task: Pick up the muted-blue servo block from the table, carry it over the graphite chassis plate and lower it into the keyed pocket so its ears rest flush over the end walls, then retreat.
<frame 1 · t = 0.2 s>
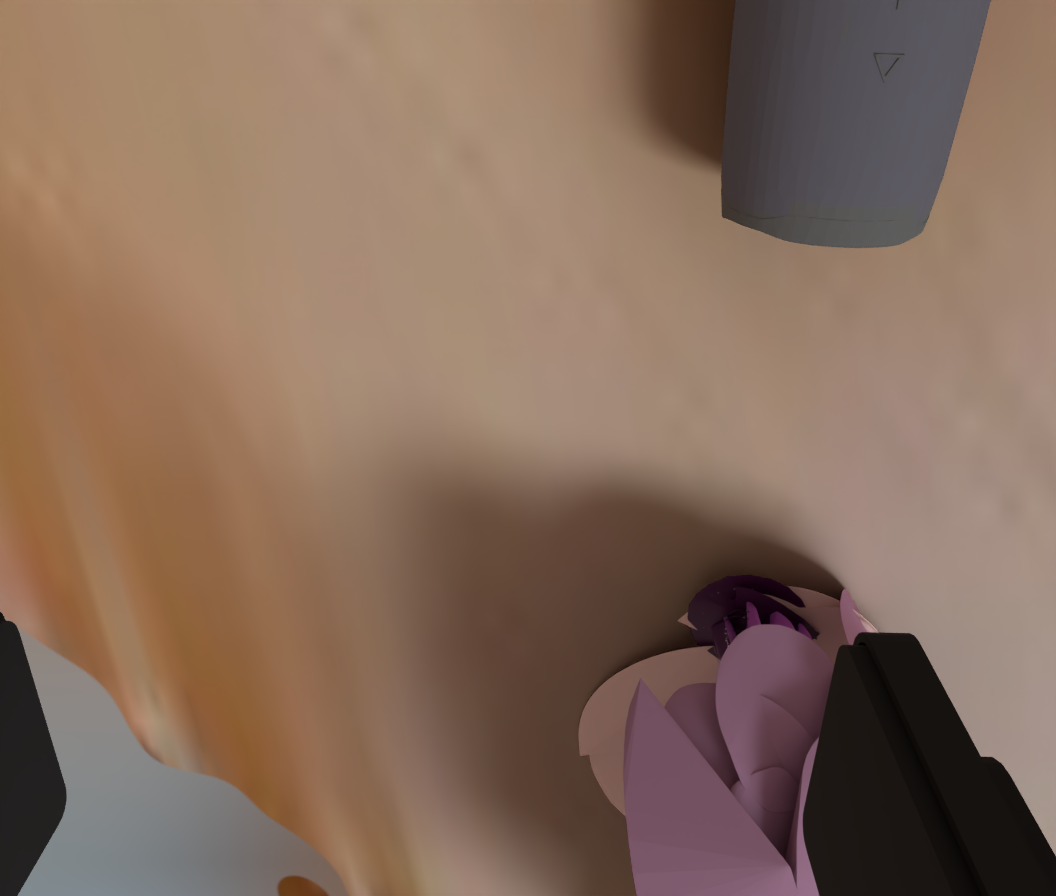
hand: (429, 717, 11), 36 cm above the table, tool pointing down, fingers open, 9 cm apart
flower arrangement: (736, 738, 60), on the table
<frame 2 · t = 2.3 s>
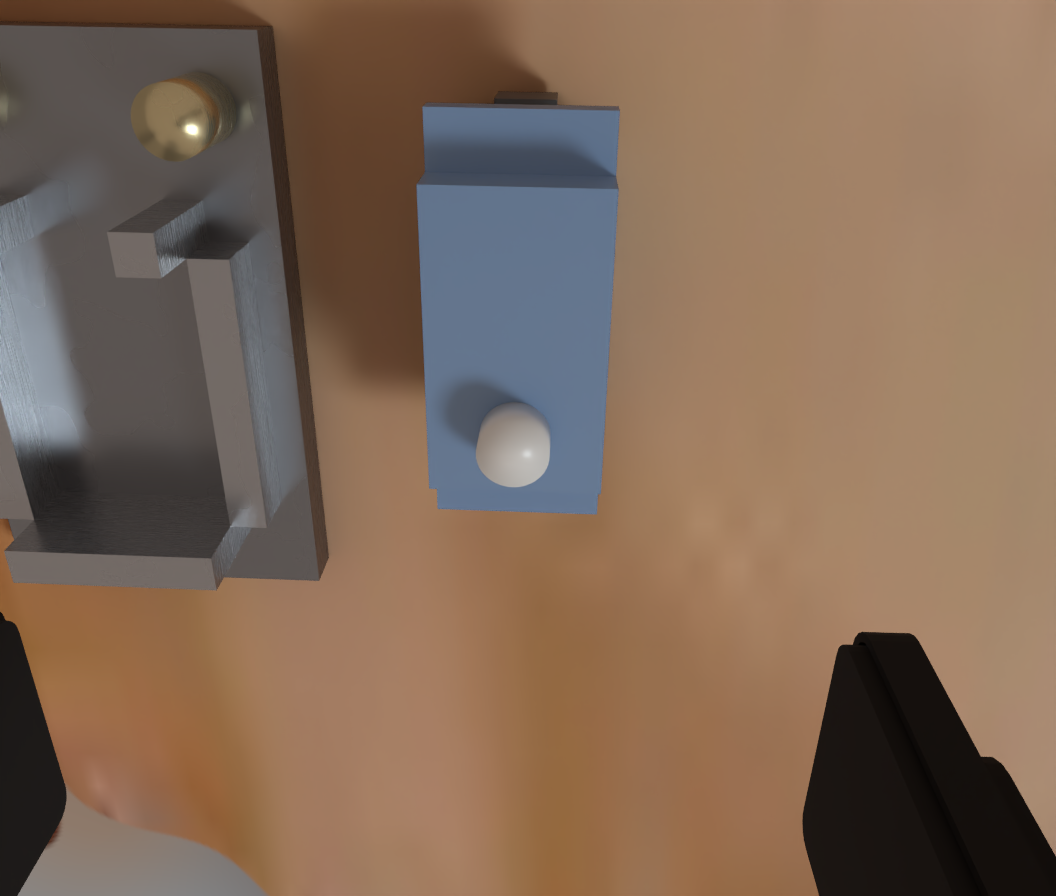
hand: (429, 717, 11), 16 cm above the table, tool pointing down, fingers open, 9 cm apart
chassis: (141, 324, 25), on the table
servo: (526, 279, 24), on the table
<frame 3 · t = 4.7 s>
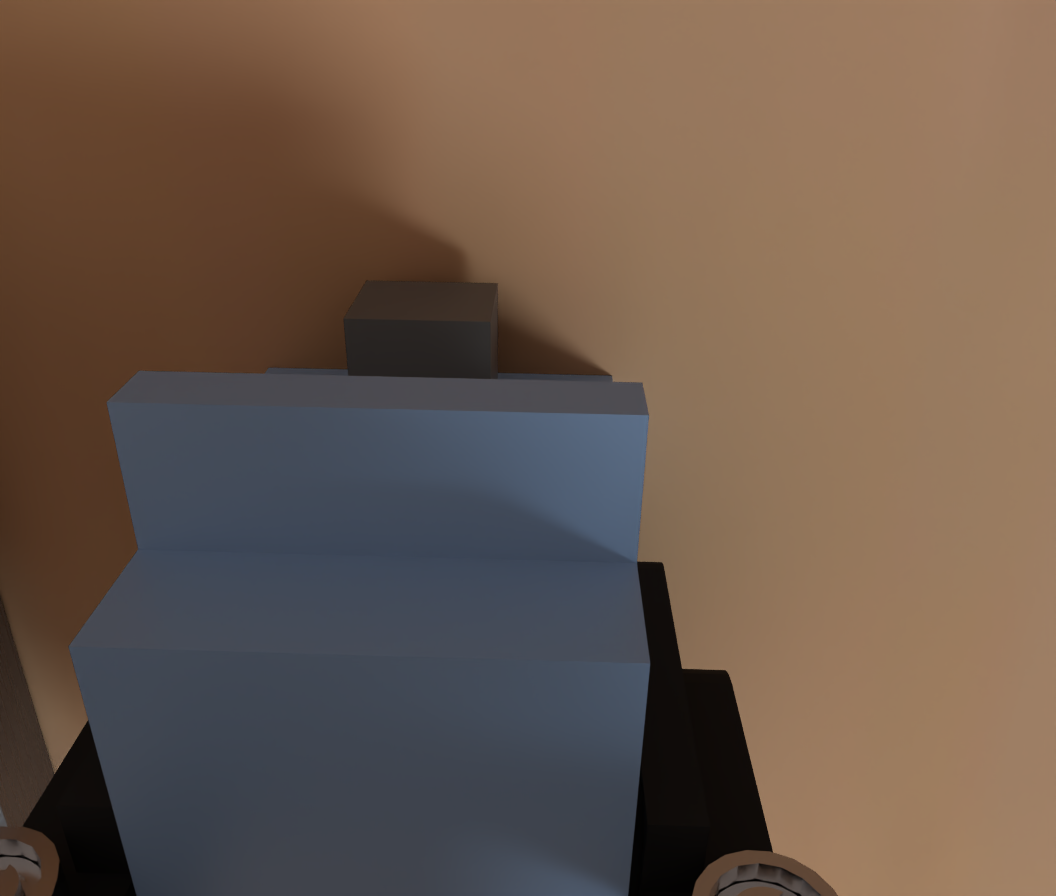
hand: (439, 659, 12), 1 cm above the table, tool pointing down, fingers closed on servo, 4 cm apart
servo: (447, 613, 12), on the table, touching gripper
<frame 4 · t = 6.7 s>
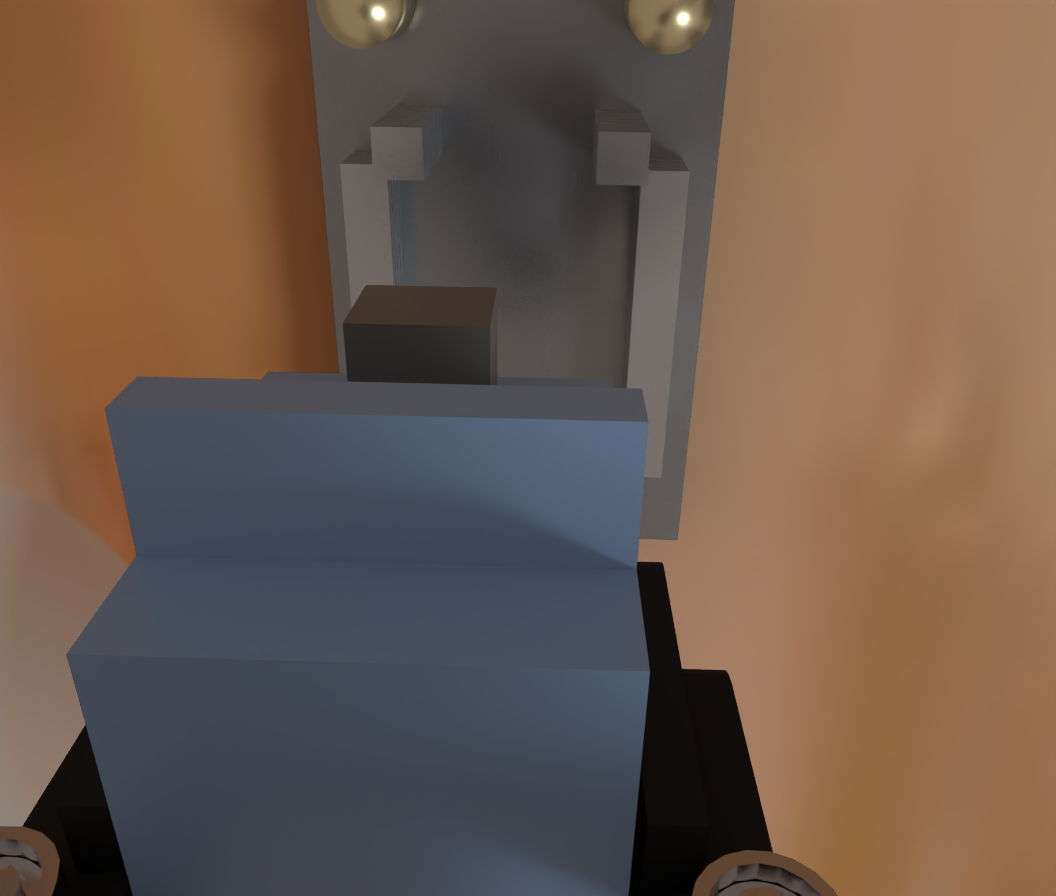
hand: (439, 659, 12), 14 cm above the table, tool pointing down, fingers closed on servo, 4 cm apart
chassis: (519, 256, 23), on the table
servo: (447, 617, 12), point 13 cm above the table, touching gripper
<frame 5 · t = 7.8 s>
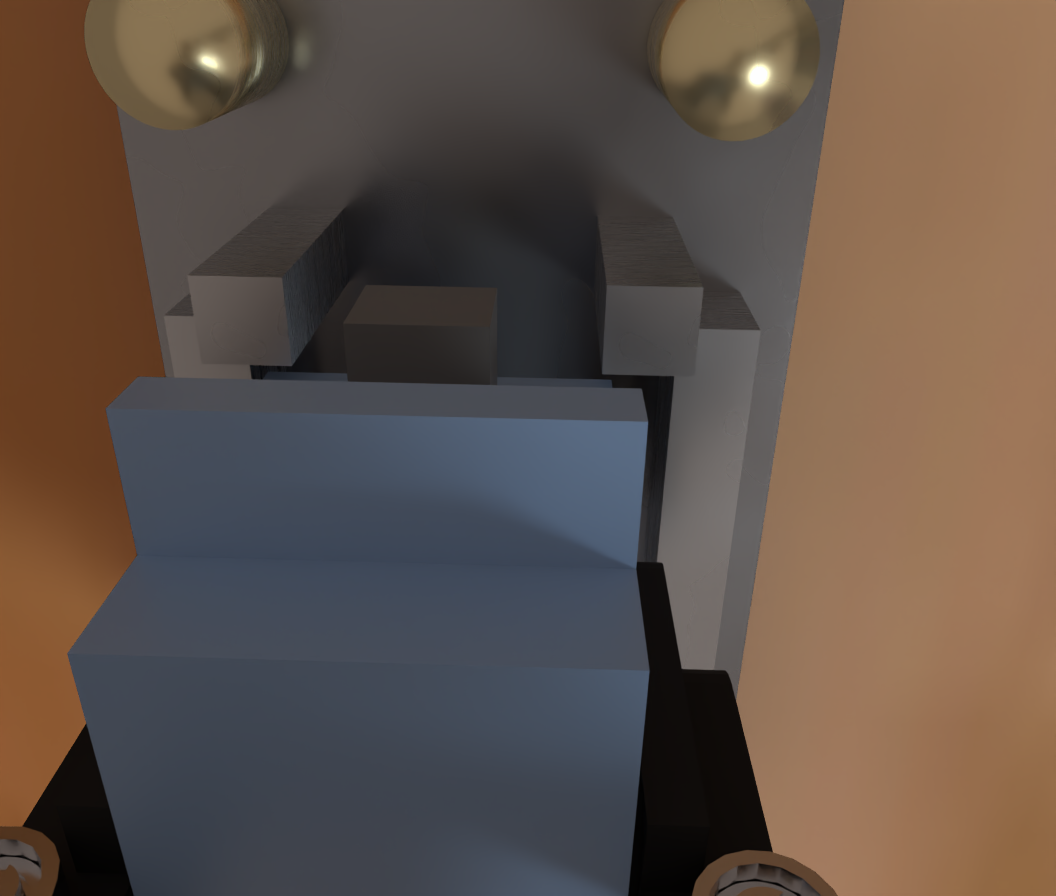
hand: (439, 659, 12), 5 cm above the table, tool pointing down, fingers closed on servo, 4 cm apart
chassis: (479, 423, 15), on the table
servo: (447, 617, 12), point 4 cm above the table, touching gripper
when the fingers open (3 cm above the table, at t = 8.7 s): servo drops 1 cm, resting on chassis.
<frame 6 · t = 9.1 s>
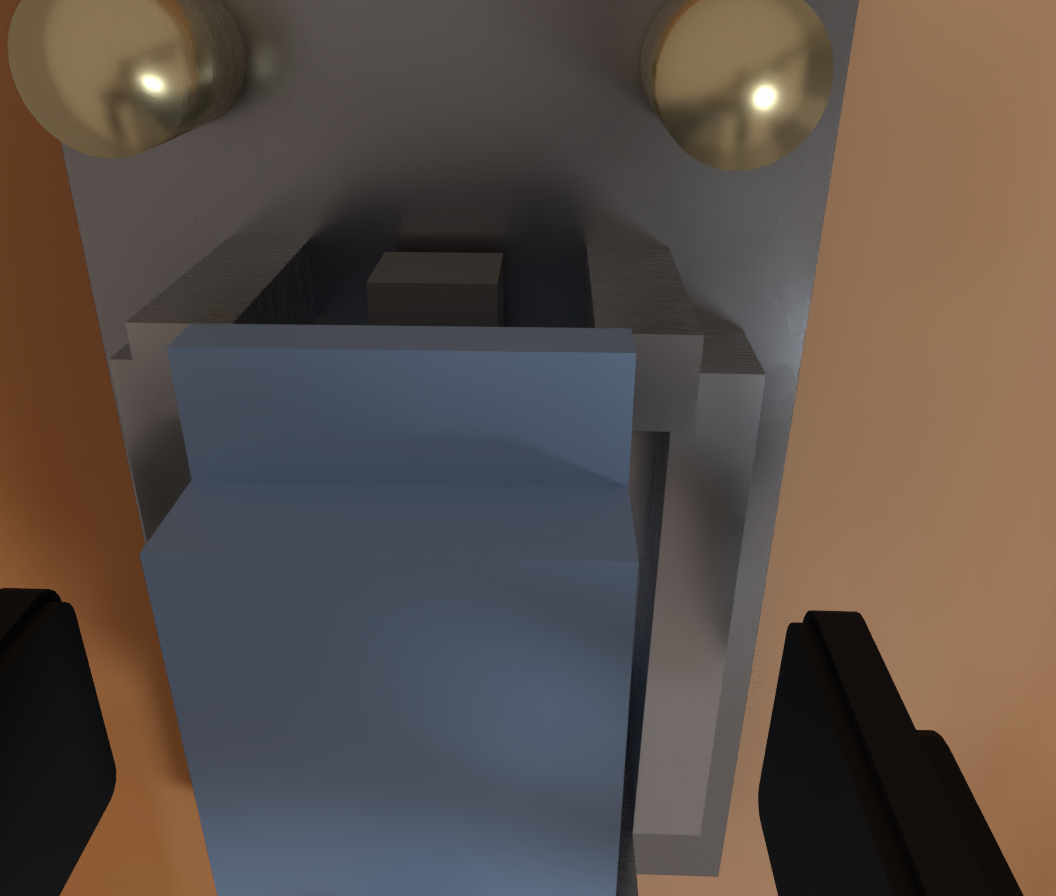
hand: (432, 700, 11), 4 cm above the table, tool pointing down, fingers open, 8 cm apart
chassis: (461, 464, 14), on the table
servo: (459, 564, 13), point 1 cm above the table, touching chassis
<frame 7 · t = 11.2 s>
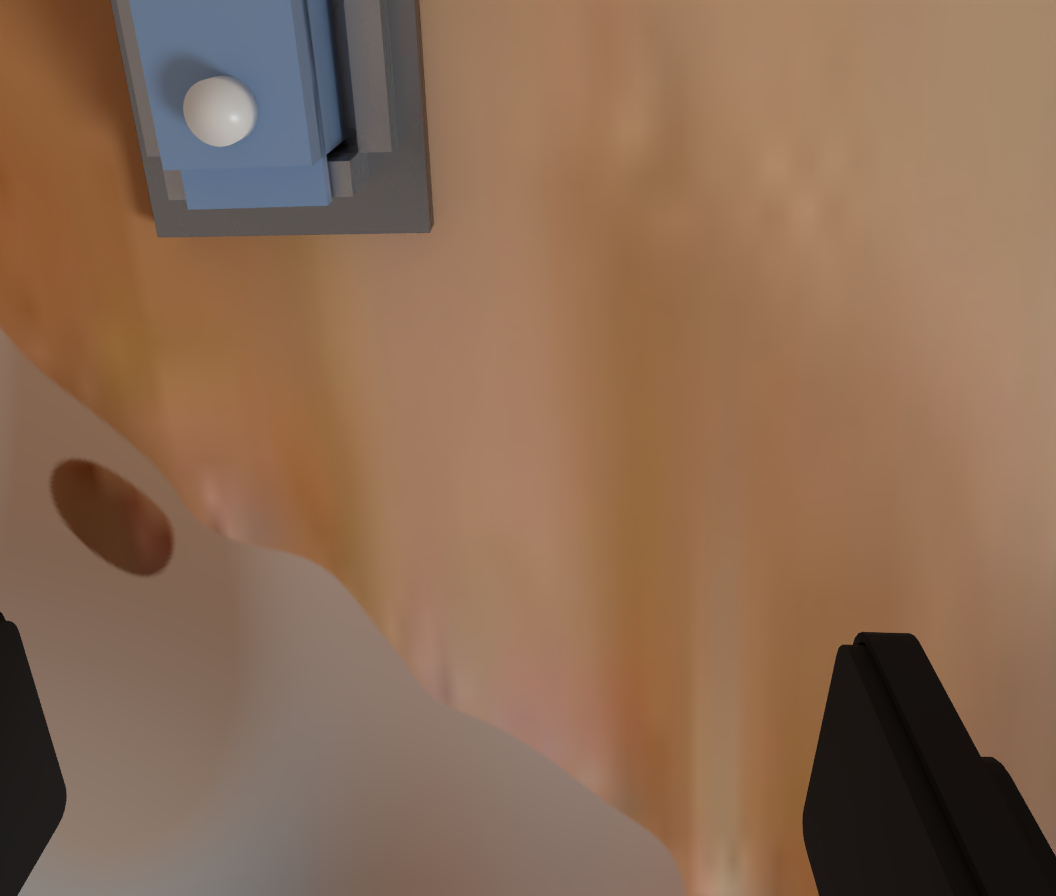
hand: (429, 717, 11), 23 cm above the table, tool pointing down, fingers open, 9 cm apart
servo: (266, 17, 28), point 1 cm above the table, touching chassis
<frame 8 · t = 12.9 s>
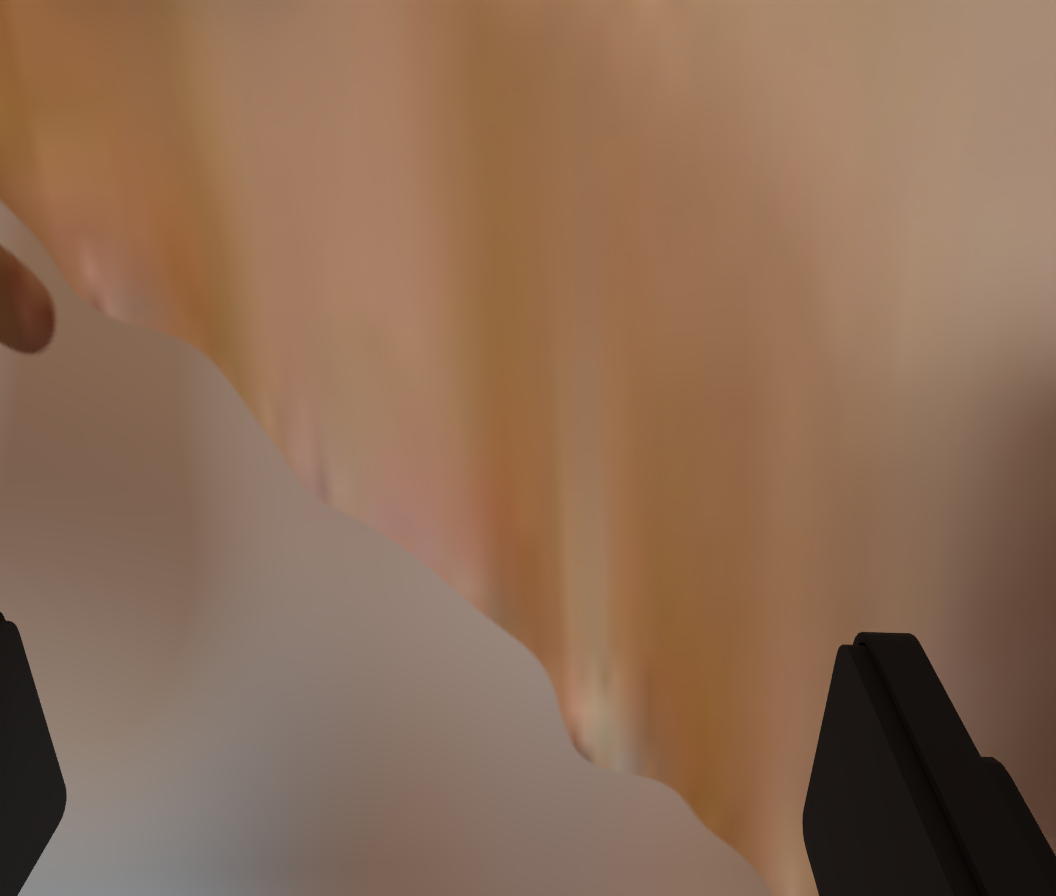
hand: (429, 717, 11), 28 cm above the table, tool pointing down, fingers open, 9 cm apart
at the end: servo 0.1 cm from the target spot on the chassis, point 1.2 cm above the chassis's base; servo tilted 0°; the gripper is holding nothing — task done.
